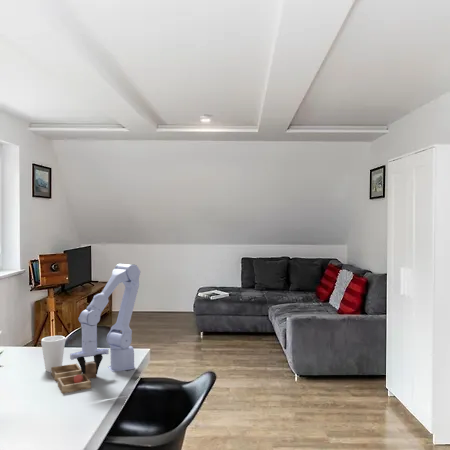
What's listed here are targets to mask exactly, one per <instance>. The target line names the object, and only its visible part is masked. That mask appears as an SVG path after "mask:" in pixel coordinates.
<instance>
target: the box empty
mask: <svg viewBox="0 0 450 450" xmlns="http://www.w3.org/2000/svg"><path fill="white" fill-rule="evenodd" d="M50 373H51V374H50V375H51V376H52V377H53V380H54V381H55V382H58V378H62V377H68V376H74V375H80V374H82V370H81V367H80V365H79V363H72V364H71V363H70V364H64V365H62V366H57V367H51V372H50Z"/></svg>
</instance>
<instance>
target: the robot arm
mask: <svg viewBox="0 0 450 450" xmlns="http://www.w3.org/2000/svg"><path fill="white" fill-rule="evenodd" d="M111 272H112V273H111V275H110V278H109V279H108V281H107V282H106V284H105V286H104V287H103V289H102V290H101V292H100V293H96V294H95V295H93V298H92V300H91V302H90V303H89V305H87V306H86V309H84V310H82V311H81V312H80V314H79V317H78V319H77V320H78V321H79V323H80V328H81V351H77V352H73V353H70V354H69V359H70V360H71V361H72V360H77V362H78V365H79V367H80V368H81V370H82V374H85V362H87V361H86V359H85V358H89V357H93V361H94V362H95V363H96V375H98V371H99V368H100V365H101V362H102V360H103V355H109V348H110V365H108V366H107V368H108V369H109V370H110V371H111V372H113V373H114V372H115V373H116V372H121V371H130V370H134V369H136V367H135V351H134V350H135V349H134V347H133V345H131V344H132V340H133V339H132V337H133V336H132V335H133V334H132V333H133V330H132V329H131V327H130V322H131V320H132V315H133V311H134V307H135V304H136V299H137V294H138V290H139V287H140V280H139V279H140V275H141V270H140V269H139V266H138V265H137V264H130V263H129V264H127V263H118V264H116V265H115V266H114V268H113V269H112V271H111ZM121 283H122V284H123V285H124V291H123V295H122V299H121V303H120V306H119V311H118V315H117V319H116V322H115V323H114V324H113V325H112V326H111V327H110V330H109V331H108V333H107V335H106V342H107V344H108V345H109V348H107V347H106V348H98V327H97V326H98V323H99V322H100V320H101V316H102V312H104V309H105V308H106V306H107V305H108V303H109V302H110V300H109V297H110V296H111V295H112V293H113V292H114V291H115V290H116V288H117V287H118V286H119V284H121Z"/></svg>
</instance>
